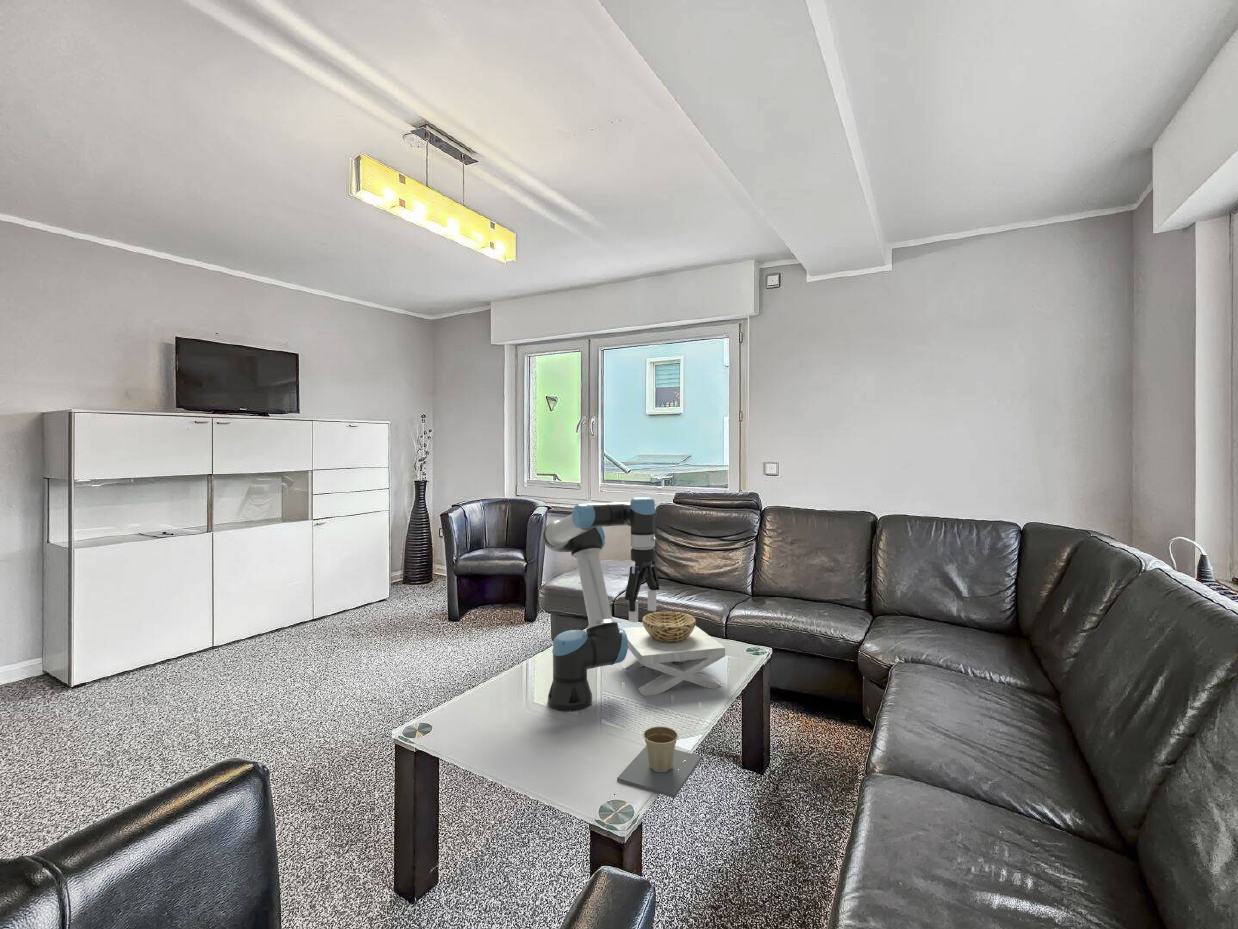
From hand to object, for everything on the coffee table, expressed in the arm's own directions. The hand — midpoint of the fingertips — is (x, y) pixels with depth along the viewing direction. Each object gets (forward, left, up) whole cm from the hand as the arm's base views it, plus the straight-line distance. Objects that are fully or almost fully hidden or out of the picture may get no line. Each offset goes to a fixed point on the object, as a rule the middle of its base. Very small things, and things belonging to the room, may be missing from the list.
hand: (643, 616), depth 172 cm
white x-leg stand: (-43, -9, -35) cm, 56 cm away
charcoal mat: (+19, +14, -35) cm, 42 cm away
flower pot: (+19, +14, -34) cm, 41 cm away
